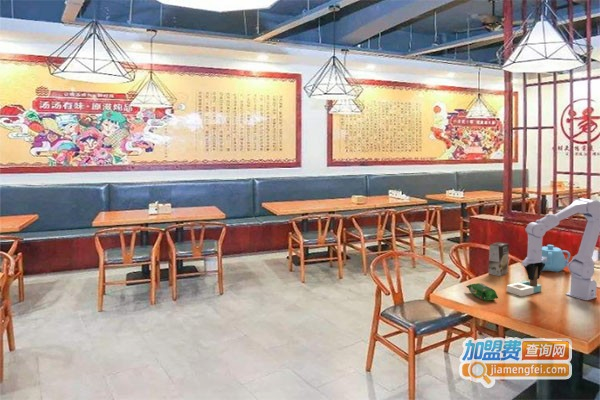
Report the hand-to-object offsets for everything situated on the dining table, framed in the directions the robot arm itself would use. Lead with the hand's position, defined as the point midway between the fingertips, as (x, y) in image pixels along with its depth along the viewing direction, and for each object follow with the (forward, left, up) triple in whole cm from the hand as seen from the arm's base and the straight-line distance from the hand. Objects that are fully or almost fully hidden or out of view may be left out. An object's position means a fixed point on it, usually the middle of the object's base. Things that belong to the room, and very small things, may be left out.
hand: (533, 279), depth 201 cm
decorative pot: (+24, -46, -9) cm, 53 cm away
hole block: (+8, -4, -9) cm, 12 cm away
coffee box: (+33, -17, -9) cm, 38 cm away
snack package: (+13, +18, -9) cm, 24 cm away
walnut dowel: (0, 0, -3) cm, 3 cm away
